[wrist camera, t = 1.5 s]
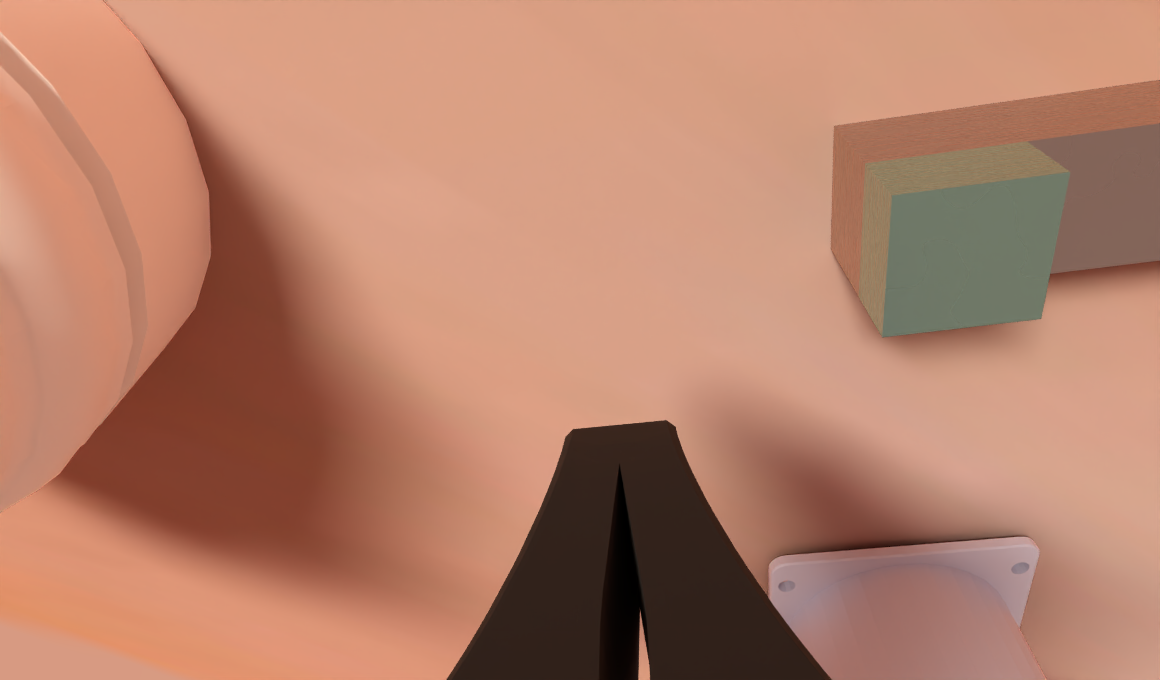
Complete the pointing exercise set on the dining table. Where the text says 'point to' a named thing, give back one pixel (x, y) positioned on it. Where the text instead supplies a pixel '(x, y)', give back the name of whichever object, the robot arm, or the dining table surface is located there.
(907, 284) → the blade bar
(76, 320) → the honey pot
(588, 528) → the robot arm
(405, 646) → the dining table surface
